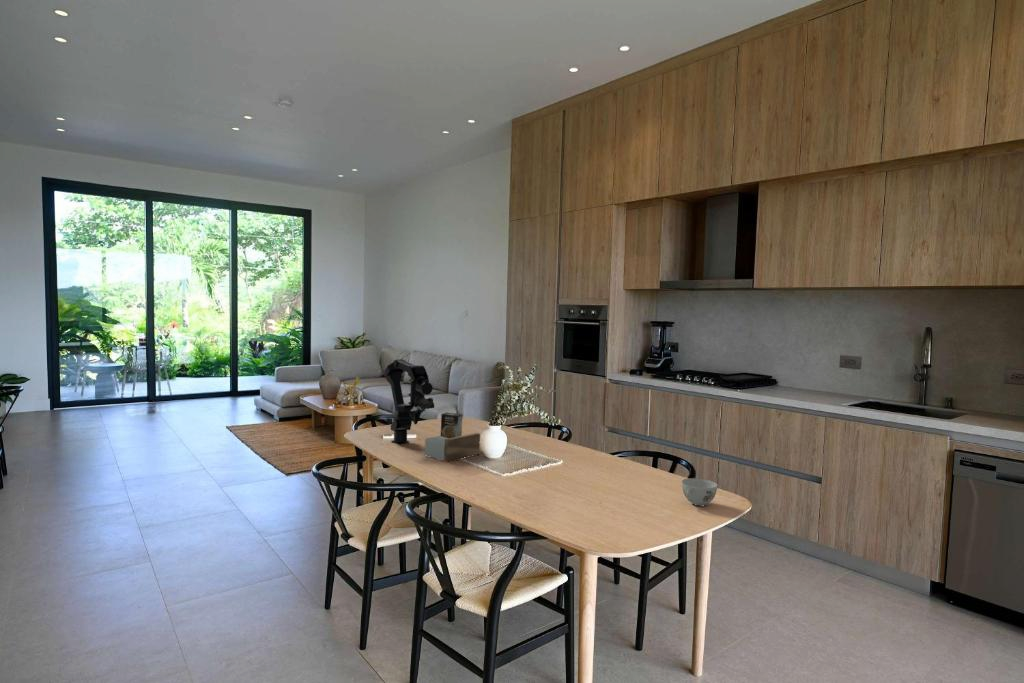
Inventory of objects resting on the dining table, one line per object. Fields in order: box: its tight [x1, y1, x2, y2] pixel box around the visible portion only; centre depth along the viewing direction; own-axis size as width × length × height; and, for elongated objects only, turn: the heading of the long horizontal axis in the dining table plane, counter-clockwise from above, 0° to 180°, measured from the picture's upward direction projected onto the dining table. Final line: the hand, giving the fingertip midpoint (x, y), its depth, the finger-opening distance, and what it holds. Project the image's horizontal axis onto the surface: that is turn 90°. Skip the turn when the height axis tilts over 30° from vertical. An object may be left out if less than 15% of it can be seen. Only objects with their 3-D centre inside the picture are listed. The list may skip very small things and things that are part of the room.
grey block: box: [424, 435, 448, 462], centre depth 257 cm, size 13×9×8 cm
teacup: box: [681, 477, 718, 506], centre depth 205 cm, size 15×12×8 cm
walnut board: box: [443, 432, 481, 463], centre depth 256 cm, size 2×20×10 cm, turn 139°
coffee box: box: [440, 411, 464, 438], centre depth 278 cm, size 9×6×16 cm
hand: (415, 424), depth 269 cm, fingers closed
